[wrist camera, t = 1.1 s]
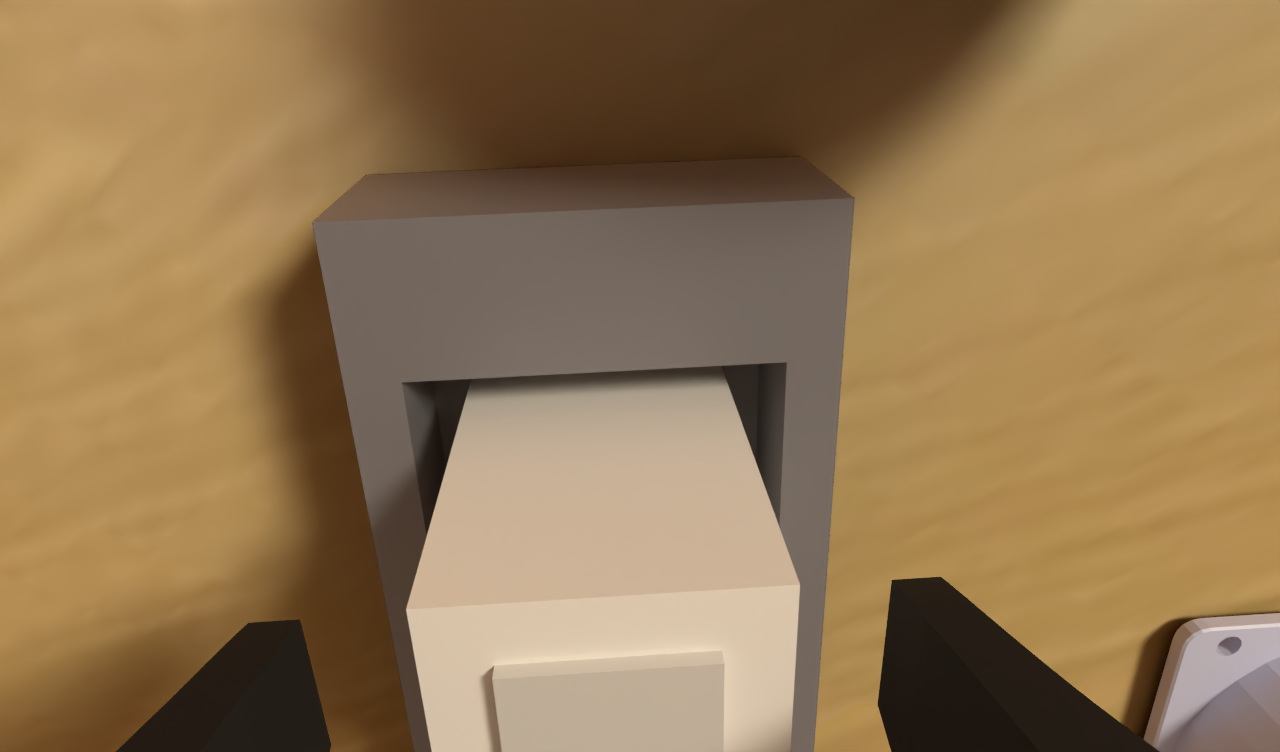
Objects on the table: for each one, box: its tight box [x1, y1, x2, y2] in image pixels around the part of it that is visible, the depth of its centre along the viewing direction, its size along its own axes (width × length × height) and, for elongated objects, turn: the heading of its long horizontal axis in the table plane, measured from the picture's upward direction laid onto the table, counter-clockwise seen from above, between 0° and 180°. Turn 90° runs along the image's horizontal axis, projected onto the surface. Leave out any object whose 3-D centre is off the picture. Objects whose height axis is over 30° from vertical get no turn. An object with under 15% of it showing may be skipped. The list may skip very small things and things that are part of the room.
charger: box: [406, 366, 800, 752], centre depth 12 cm, size 4×4×6 cm
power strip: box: [312, 156, 854, 752], centre depth 16 cm, size 7×18×4 cm, turn 2°
